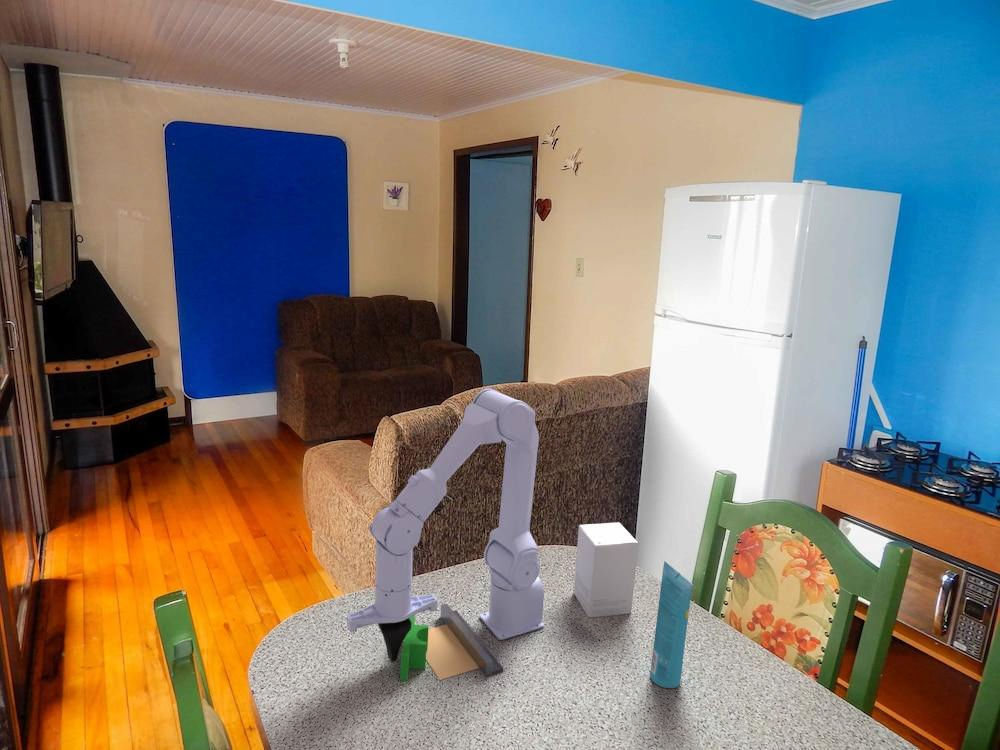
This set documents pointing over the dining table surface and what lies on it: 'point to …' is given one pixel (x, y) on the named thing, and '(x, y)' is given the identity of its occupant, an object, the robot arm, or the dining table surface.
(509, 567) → the robot arm
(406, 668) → the pipe clamp
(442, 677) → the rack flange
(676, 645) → the tube
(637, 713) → the dining table surface
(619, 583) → the supplement box
